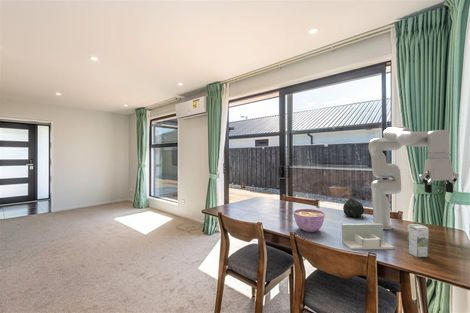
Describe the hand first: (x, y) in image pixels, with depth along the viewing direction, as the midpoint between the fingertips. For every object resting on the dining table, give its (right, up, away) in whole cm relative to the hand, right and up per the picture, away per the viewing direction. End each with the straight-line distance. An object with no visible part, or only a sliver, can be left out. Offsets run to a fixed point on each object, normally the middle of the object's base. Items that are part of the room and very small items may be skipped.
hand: (438, 192), depth 105 cm
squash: (-2, -31, +71) cm, 78 cm away
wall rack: (-24, -31, +16) cm, 43 cm away
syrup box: (-7, -31, +4) cm, 32 cm away
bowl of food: (-47, -32, +42) cm, 71 cm away
